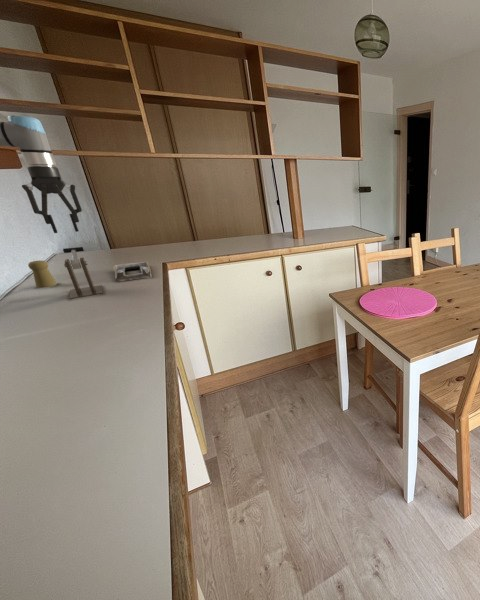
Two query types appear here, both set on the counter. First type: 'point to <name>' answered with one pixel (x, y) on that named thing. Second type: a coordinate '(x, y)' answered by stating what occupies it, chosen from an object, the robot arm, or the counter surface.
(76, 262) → the tap lever
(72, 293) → the bracket
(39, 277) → the cork
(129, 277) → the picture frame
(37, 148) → the robot arm
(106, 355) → the counter surface
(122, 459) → the counter surface
